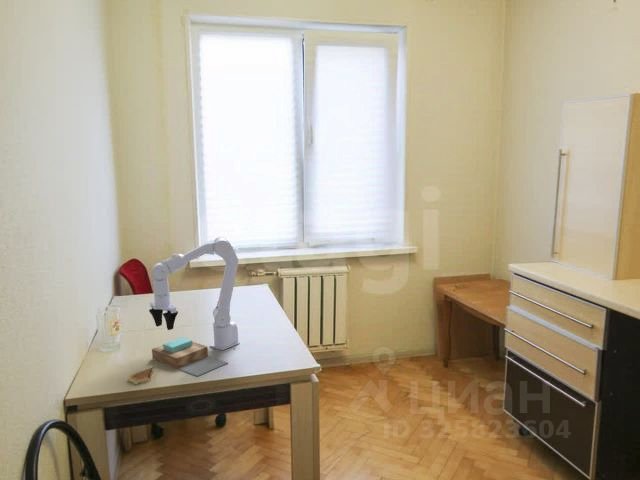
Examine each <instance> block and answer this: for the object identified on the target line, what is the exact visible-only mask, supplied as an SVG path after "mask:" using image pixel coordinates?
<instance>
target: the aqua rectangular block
mask: <svg viewBox="0 0 640 480" xmlns="http://www.w3.org/2000/svg"><path fill="white" fill-rule="evenodd" d="M192 342H193V340H192V339H189V338H185V337H180V338H177V339H174V340H171V341H168V342H164V343H163V344H162V345H163V349H164V350H167V351H170V352H172V353H173V352H176V351H179V350H181V349H184V348H187V347H189V346H192V345H193V344H192Z"/></svg>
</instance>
